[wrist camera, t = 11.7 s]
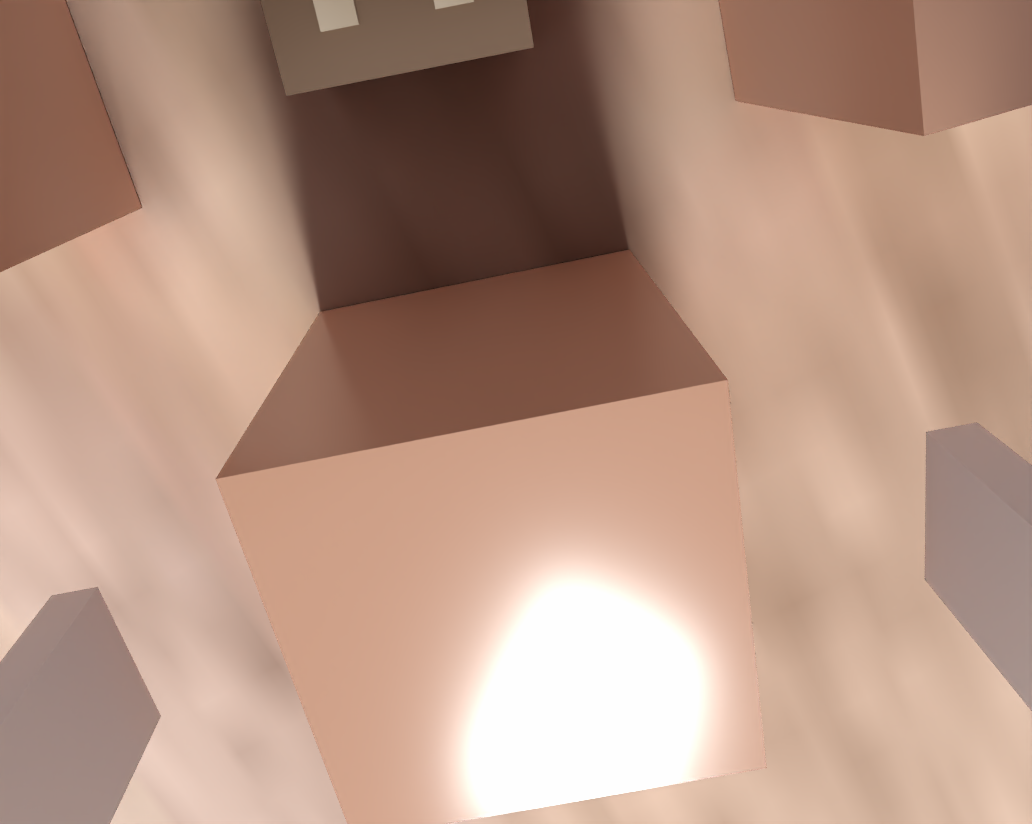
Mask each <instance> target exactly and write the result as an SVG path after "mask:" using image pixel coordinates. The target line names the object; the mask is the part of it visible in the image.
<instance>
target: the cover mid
mask: <svg viewBox="0 0 1032 824" xmlns="http://www.w3.org/2000/svg"><path fill="white" fill-rule="evenodd" d="M216 482H217V484H218V487H219V489H220V492H221V495H222V497H223V500H224V503H225V505H226V508H227V510H228V513H229V516H230V518H231V521H232V523H233V526H234V529H235V531H236V534H237V536H238V539H239V542H240V544H241V547H242V550H243V552H244V555H245V557H246V560H247V563H248V565H249V568H250V570H251V573H252V576H253V578H254V581H255V584H256V586H257V589H258V591H259V594H260V597H261V599H262V602H263V604H264V607H265V610H266V612H267V615H268V618H269V620H270V623H271V625H272V628H273V631H274V633H275V636H276V638H277V641H278V644H279V646H280V649H281V651H282V654H283V657H284V659H285V662H286V665H287V667H288V670H289V672H290V675H291V678H292V680H293V683H294V685H295V688H296V691H297V693H298V696H299V699H300V701H301V704H302V706H303V709H304V712H305V714H306V717H307V719H308V722H309V725H310V727H311V730H312V733H313V735H314V738H315V740H316V743H317V746H318V748H319V751H320V753H321V756H322V759H323V761H324V764H325V766H326V769H327V772H328V774H329V777H330V780H331V782H332V785H333V787H334V790H335V793H336V795H337V798H338V800H339V803H340V806H341V808H342V811H343V814H344V816H345V819H346V821H347V824H449V823H454V822H460V821H466V820H472V819H477V818H483V817H489V816H495V815H500V814H506V813H512V812H517V811H523V810H529V809H535V808H540V807H546V806H552V805H558V804H563V803H569V802H575V801H581V800H586V799H592V798H598V797H603V796H609V795H615V794H621V793H626V792H632V791H638V790H644V789H649V788H655V787H661V786H667V785H672V784H678V783H684V782H689V781H695V780H701V779H707V778H712V777H718V776H724V775H730V774H735V773H741V772H747V771H752V770H758V769H764V768H767V767H766V757H765V747H764V737H763V727H762V717H761V707H760V697H759V687H758V677H757V667H756V657H755V647H754V637H753V627H752V617H751V607H750V597H749V587H748V577H747V567H746V557H745V547H744V538H743V528H742V518H741V508H740V498H739V488H738V478H737V468H736V458H735V448H734V438H733V428H732V418H731V408H730V398H729V388H728V380H727V378H726V377H725V376H724V374H723V373H722V372H721V370H720V369H719V368H718V366H717V365H716V364H715V362H714V361H713V360H712V358H711V357H710V356H709V354H708V353H707V352H706V350H705V349H704V348H703V347H702V345H701V344H700V343H699V341H698V340H697V339H696V337H695V336H694V335H693V333H692V332H691V331H690V329H689V328H688V327H687V325H686V324H685V323H684V321H683V320H682V319H681V317H680V316H679V315H678V313H677V312H676V311H675V309H674V308H673V307H672V306H671V304H670V303H669V302H668V300H667V299H666V298H665V296H664V295H663V294H662V292H661V291H660V290H659V288H658V287H657V286H656V284H655V283H654V282H653V280H652V279H651V278H650V276H649V275H648V274H647V272H646V271H645V270H644V268H643V267H642V266H641V265H640V263H639V262H638V261H637V259H636V258H635V257H634V255H633V254H632V253H631V251H630V250H625V251H620V252H615V253H610V254H605V255H600V256H595V257H590V258H585V259H580V260H575V261H570V262H565V263H560V264H555V265H550V266H545V267H540V268H535V269H530V270H525V271H520V272H516V273H511V274H506V275H501V276H496V277H491V278H486V279H481V280H476V281H471V282H466V283H461V284H456V285H451V286H446V287H441V288H436V289H431V290H426V291H421V292H416V293H411V294H406V295H401V296H396V297H391V298H386V299H381V300H376V301H371V302H366V303H361V304H357V305H352V306H347V307H342V308H337V309H332V310H327V311H322V312H320V313H319V314H318V316H317V317H316V319H315V321H314V322H313V324H312V325H311V327H310V329H309V330H308V332H307V333H306V335H305V337H304V338H303V340H302V341H301V343H300V345H299V346H298V348H297V349H296V351H295V353H294V354H293V356H292V357H291V359H290V361H289V362H288V364H287V365H286V367H285V369H284V370H283V372H282V373H281V375H280V377H279V378H278V380H277V381H276V383H275V385H274V386H273V388H272V389H271V391H270V393H269V394H268V396H267V398H266V399H265V401H264V402H263V404H262V406H261V407H260V409H259V410H258V412H257V414H256V415H255V417H254V418H253V420H252V422H251V423H250V425H249V426H248V428H247V430H246V431H245V433H244V434H243V436H242V438H241V439H240V441H239V442H238V444H237V446H236V447H235V449H234V450H233V452H232V454H231V455H230V457H229V458H228V460H227V462H226V463H225V465H224V466H223V468H222V470H221V471H220V473H219V474H218V476H217V478H216Z"/></svg>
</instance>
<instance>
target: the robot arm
mask: <svg viewBox="0 0 1032 824" xmlns="http://www.w3.org/2000/svg"><path fill="white" fill-rule="evenodd" d="M925 580H926V582H927V583H928V584H929V585H930V586H931V588H932V589H933V590H934V591H935V593H936V594H937V595H938V596H939V598H940V599H941V600H942V601H943V602H944V604H945V605H946V606H947V607H948V609H949V610H950V611H951V612H952V614H953V615H954V616H955V617H956V618H957V620H958V621H959V622H960V623H961V625H962V626H963V627H964V628H965V630H966V631H967V632H968V633H969V634H970V636H971V637H972V638H973V639H974V641H975V642H976V643H977V644H978V646H979V647H980V648H981V649H982V650H983V652H984V653H985V654H986V655H987V657H988V658H989V659H990V660H991V662H992V663H993V664H994V665H995V666H996V668H997V669H998V670H999V671H1000V673H1001V674H1002V675H1003V676H1004V678H1005V679H1006V680H1007V681H1008V682H1009V684H1010V685H1011V686H1012V687H1013V689H1014V690H1015V691H1016V692H1017V694H1018V695H1019V696H1020V697H1021V698H1022V700H1023V701H1024V702H1025V703H1026V705H1027V706H1028V707H1029V708H1030V710H1031V711H1032V465H1031V464H1029V463H1028V462H1027V461H1026V460H1024V459H1023V458H1022V457H1020V456H1019V455H1018V454H1017V453H1015V452H1014V451H1013V450H1012V449H1010V448H1009V447H1008V446H1006V445H1005V444H1004V443H1003V442H1001V441H1000V440H999V439H997V438H996V437H995V436H994V435H992V434H991V433H990V432H989V431H987V430H986V429H985V428H983V427H982V426H981V425H980V424H978V423H971V424H966V425H961V426H955V427H950V428H945V429H939V430H934V431H929V432H926V499H925ZM160 717H161V715H160V713H159V711H158V709H157V707H156V705H155V703H154V701H153V699H152V697H151V695H150V693H149V691H148V689H147V687H146V685H145V683H144V681H143V679H142V677H141V675H140V673H139V671H138V668H137V666H136V664H135V662H134V660H133V658H132V656H131V654H130V652H129V650H128V648H127V646H126V644H125V642H124V640H123V638H122V636H121V634H120V632H119V630H118V628H117V626H116V624H115V622H114V620H113V617H112V615H111V613H110V611H109V609H108V607H107V605H106V603H105V601H104V599H103V597H102V595H101V593H100V591H99V589H98V587H95V588H90V589H84V590H79V591H74V592H68V593H63V594H58V595H52V596H51V597H50V598H49V600H48V601H47V602H46V604H45V605H44V606H43V607H42V609H41V610H40V611H39V613H38V614H37V615H36V617H35V618H34V619H33V620H32V622H31V623H30V624H29V626H28V627H27V628H26V629H25V631H24V632H23V633H22V635H21V636H20V637H19V639H18V640H17V641H16V642H15V644H14V645H13V646H12V648H11V649H10V650H9V652H8V653H7V654H6V655H5V657H4V658H3V659H2V661H1V662H0V824H110V822H111V820H112V818H113V816H114V814H115V812H116V810H117V808H118V805H119V803H120V801H121V799H122V797H123V795H124V793H125V791H126V789H127V786H128V784H129V782H130V780H131V778H132V776H133V774H134V772H135V770H136V767H137V765H138V763H139V761H140V759H141V757H142V755H143V753H144V751H145V748H146V746H147V744H148V742H149V740H150V738H151V736H152V734H153V732H154V729H155V727H156V725H157V723H158V721H159V719H160Z"/></svg>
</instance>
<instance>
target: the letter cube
mask: <svg viewBox="0 0 1032 824" xmlns="http://www.w3.org/2000/svg"><path fill="white" fill-rule="evenodd" d="M260 1H261V5H262V9H263V13H264V16H265V20H266V24H267V27H268V31H269V35H270V38H271V42H272V46H273V49H274V53H275V57H276V61H277V64H278V68H279V72H280V75H281V79H282V83H283V86H284V90H285V94H286V96H289V95H294V94H300V93H305V92H310V91H315V90H320V89H325V88H330V87H335V86H340V85H345V84H351V83H356V82H361V81H366V80H371V79H376V78H381V77H386V76H391V75H396V74H401V73H407V72H412V71H417V70H422V69H427V68H432V67H437V66H442V65H447V64H453V63H458V62H463V61H468V60H473V59H478V58H483V57H488V56H493V55H498V54H503V53H509V52H514V51H519V50H524V49H529V48H534V45H533V39H532V32H531V26H530V20H529V13H528V7H527V0H260Z"/></svg>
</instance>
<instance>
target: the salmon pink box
mask: <svg viewBox="0 0 1032 824" xmlns="http://www.w3.org/2000/svg"><path fill="white" fill-rule="evenodd" d="M140 208H142V207H141V204H140V202H139V199H138V196H137V193H136V191H135V188H134V185H133V183H132V180H131V177H130V175H129V172H128V169H127V166H126V164H125V161H124V158H123V156H122V153H121V150H120V147H119V145H118V142H117V139H116V137H115V134H114V131H113V128H112V126H111V123H110V120H109V118H108V115H107V112H106V110H105V107H104V104H103V101H102V99H101V96H100V93H99V91H98V88H97V85H96V82H95V80H94V77H93V74H92V72H91V69H90V66H89V63H88V61H87V58H86V55H85V53H84V50H83V47H82V45H81V42H80V39H79V36H78V34H77V31H76V28H75V26H74V23H73V20H72V17H71V15H70V12H69V9H68V7H67V4H66V1H65V0H0V272H2V271H4V270H6V269H8V268H10V267H13V266H15V265H17V264H19V263H21V262H24V261H26V260H28V259H30V258H32V257H35V256H37V255H39V254H41V253H43V252H46V251H48V250H50V249H52V248H54V247H57V246H59V245H61V244H63V243H65V242H68V241H70V240H72V239H74V238H77V237H79V236H81V235H83V234H85V233H88V232H90V231H92V230H94V229H96V228H99V227H101V226H103V225H105V224H107V223H110V222H112V221H114V220H116V219H118V218H121V217H123V216H125V215H127V214H129V213H132V212H134V211H136V210H138V209H140Z"/></svg>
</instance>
